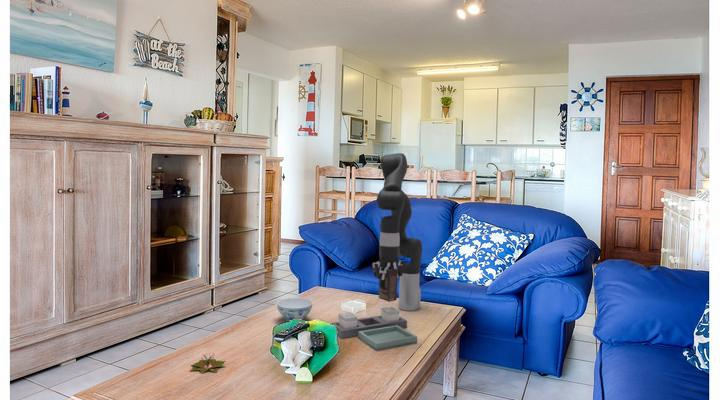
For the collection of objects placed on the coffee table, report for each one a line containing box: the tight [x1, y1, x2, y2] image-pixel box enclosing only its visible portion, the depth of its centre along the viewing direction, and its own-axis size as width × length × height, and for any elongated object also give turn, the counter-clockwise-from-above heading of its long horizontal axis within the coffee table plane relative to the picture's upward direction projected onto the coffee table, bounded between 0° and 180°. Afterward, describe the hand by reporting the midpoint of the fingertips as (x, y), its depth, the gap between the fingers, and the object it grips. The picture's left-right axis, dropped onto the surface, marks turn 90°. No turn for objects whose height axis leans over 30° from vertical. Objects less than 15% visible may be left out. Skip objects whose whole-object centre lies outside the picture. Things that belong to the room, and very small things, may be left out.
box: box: [378, 268, 398, 303], centre depth 183 cm, size 6×4×12 cm
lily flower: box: [189, 352, 226, 374], centre depth 157 cm, size 12×12×5 cm
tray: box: [357, 325, 418, 351], centre depth 184 cm, size 18×14×2 cm
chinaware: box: [276, 297, 314, 322], centre depth 204 cm, size 15×15×8 cm
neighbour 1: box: [338, 312, 358, 329], centre depth 192 cm, size 5×6×7 cm
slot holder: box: [330, 315, 408, 340], centre depth 197 cm, size 30×10×3 cm, turn 119°
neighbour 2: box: [380, 306, 401, 322], centre depth 201 cm, size 5×6×7 cm
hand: (388, 288), depth 183 cm, fingers closed on box, 4 cm apart
